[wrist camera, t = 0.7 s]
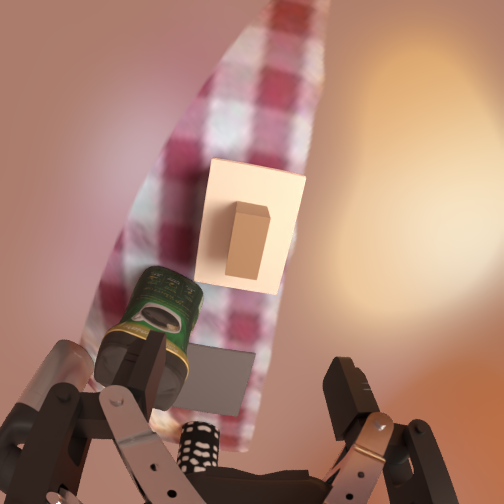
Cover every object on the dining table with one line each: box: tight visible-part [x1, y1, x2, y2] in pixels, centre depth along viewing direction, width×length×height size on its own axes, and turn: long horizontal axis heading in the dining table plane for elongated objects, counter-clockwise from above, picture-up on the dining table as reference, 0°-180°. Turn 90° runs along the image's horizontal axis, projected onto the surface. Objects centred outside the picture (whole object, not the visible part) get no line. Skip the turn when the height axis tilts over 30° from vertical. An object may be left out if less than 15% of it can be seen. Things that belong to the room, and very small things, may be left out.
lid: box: [194, 158, 306, 295], centre depth 29 cm, size 13×9×6 cm
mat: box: [172, 343, 256, 417], centre depth 47 cm, size 18×15×1 cm
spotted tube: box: [177, 422, 220, 475], centre depth 44 cm, size 8×8×20 cm
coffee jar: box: [94, 266, 204, 411], centre depth 31 cm, size 10×8×19 cm
